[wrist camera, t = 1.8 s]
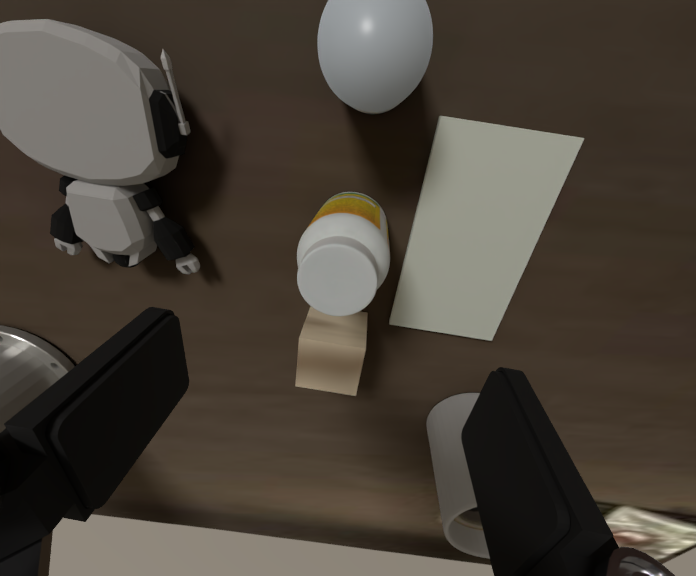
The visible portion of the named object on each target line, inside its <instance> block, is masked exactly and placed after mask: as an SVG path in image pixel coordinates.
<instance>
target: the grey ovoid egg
mask: <svg viewBox="0 0 696 576" xmlns="http://www.w3.org/2000/svg"><path fill="white" fill-rule="evenodd" d="M432 44H433V27H432V20H431V15H430V11H429V8H428V5H427V3H426V1H425V0H328V2H327V4H326V6H325V9H324V11H323V14H322V17H321V21H320V25H319V31H318V56H319V61H320V66H321V69H322V72H323V75H324V77H325V79H326V81H327V83H328V85H329V86H330V88H331V89H332V91H333V92H334V93H335V94H336V95H337V96H338V97H339V98H340V99H341V100H342V101H343V102H345V103H346V104H348V105H349V106H351V107H352V108H354V109H356V110H358V111H360V112H362V113H366V114H381V113H384V112H387V111H389V110H391V109H393V108H394V107H396V106H397V105H398V104H400V103H401V102H402V101H403V100H405V99H406V98H407V97H408V96H409V95H410V94H411V93H412V92H413V91H414V89H415V88H416V87H417V85H418V84H419V82H420V81H421V79H422V77H423V75H424V73H425V71H426V69H427V66H428V63H429V60H430V56H431V51H432Z"/></svg>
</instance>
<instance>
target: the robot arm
mask: <svg viewBox="0 0 696 576" xmlns="http://www.w3.org/2000/svg"><path fill="white" fill-rule="evenodd" d="M188 385H189V377H188V371H187V365H186V359H185V352H184V346H183V340H182V334H181V328H180V322H179V318H178V317H177V316H175V315H174V313H173V311H171V310H167V309H161V308H155V307H149V308H148V309H146V310H145V311H143V312H142V313H141V314H140V315H138V316H137V317H136V318H135V319H134V320H132V321H131V322H130V323H129V324H127V325H126V326H125V327H124V328H122V329H121V330H120V331H119V332H117V333H116V334H115V335H114V336H112V337H111V338H110V339H109V340H107V341H106V342H105V343H104V344H102V345H101V346H100V347H99V348H97V349H96V350H95V351H94V352H92V353H91V354H90V355H89V356H88V357H86V358H85V359H84V360H83V361H81V362H80V363H79V364H78V365H76V366H74V365H73V363H72V362H71V361H70V360H69V359H68V358H67V357H66V356H65V355H64V354H63V353H62V352H60V351H59V350H58V349H56V348H55V347H54V346H52V345H51V344H49V343H47V342H46V341H44V340H42V339H41V338H39V337H37V336H35V335H32V334H30V333H28V332H25V331H22V330H19V329H16V328H12V327H7V326H0V576H48V575H49V564H50V554H51V542H52V531H53V529H54V528H55V527H56V525H57V524H58V523H59V522H60V520H61V519H62V518H63V517H64V518H68V519H73V520H78V521H84V522H86V520H87V519H88V518H89V516H90V515H91V514H92V512H93V511H94V510H95V509H98V508H100V507H102V506H103V505H104V504H105V503H106V501H107V500H108V499H109V498H110V496H111V495H112V493H113V492H114V491H115V489H116V488H117V486H118V485H119V484H120V482H121V481H122V480H123V478H124V477H125V475H126V474H127V473H128V471H129V470H130V468H131V467H132V466H133V464H134V463H135V462H136V460H137V459H138V457H139V456H140V455H141V453H142V452H143V450H144V449H145V448H146V446H147V445H148V444H149V442H150V441H151V439H152V438H153V437H154V435H155V434H156V432H157V431H158V430H159V428H160V427H161V426H162V424H163V423H164V421H165V420H166V419H167V417H168V416H169V414H170V413H171V412H172V410H173V409H174V408H175V406H176V405H177V403H178V402H179V401H180V399H181V398H182V397H183V395H184V394H185V392H186V391H187V388H188ZM461 440H462V445H463V449H464V453H465V457H466V462H467V466H468V470H469V474H470V478H471V482H472V486H473V490H474V495H475V499H476V503H477V507H478V511H479V515H480V519H481V524H482V528H483V532H484V536H485V540H486V544H487V548H488V552H489V557H490V561H491V565H492V569H493V573H494V576H675V575H674V574H673V573H671V572H670V571H669V570H668V569H667V568H666V567H665V566H663V565H662V564H661V563H660V562H658V561H657V560H655V559H654V558H652V557H651V556H649V555H647V554H646V553H644V552H641V551H639V550H636V549H634V548H629V547H620V548H619V547H618V545H617V543H616V541H615V539H614V538H613V534H612V532H611V530H610V528H609V527H608V525H607V523H606V521H605V519H604V517H603V516H602V514H601V512H600V510H599V508H598V507H597V505H596V503H595V501H594V499H593V498H592V496H591V494H590V492H589V490H588V488H587V487H586V485H585V483H584V481H583V479H582V478H581V476H580V474H579V472H578V470H577V469H576V467H575V465H574V463H573V461H572V459H571V458H570V456H569V454H568V452H567V450H566V449H565V447H564V445H563V443H562V441H561V439H560V438H559V436H558V434H557V432H556V430H555V429H554V427H553V425H552V423H551V421H550V420H549V418H548V416H547V414H546V412H545V410H544V409H543V407H542V405H541V403H540V401H539V400H538V398H537V396H536V394H535V392H534V391H533V389H532V387H531V385H530V383H529V381H528V380H527V378H526V376H525V374H524V373H523V372H522V371H520V370H514V369H508V368H503V367H500V368H498V369H497V370H496V371H492V372H491V373H490V374H489V376H488V378H487V380H486V382H485V384H484V386H483V388H482V390H481V393H480V395H479V397H478V399H477V401H476V403H475V405H474V407H473V409H472V411H471V413H470V415H469V417H468V419H467V421H466V423H465V425H464V427H463V429H462V433H461Z"/></svg>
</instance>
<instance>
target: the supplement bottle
mask: <svg viewBox="0 0 696 576" xmlns="http://www.w3.org/2000/svg"><path fill="white" fill-rule="evenodd" d="M297 264H298V273H297V283H298V287H299V290H300V293H301V295H302V296H303V298H304V299H305V301H306V302H307V303H308V304H309V305H310V306H311V307H313V308H314V309H316V310H317V311H319V312H322V313H324V314H327V315H331V316H347V315H352V314H355V313H357V312H359V311H361V310H362V309H364V308H365V307H366V306H367V305H368V304H369V303H370V302H371V301H372V299H373V298H374V296H375V293H376V290H377V289H378V288H379V287H380V286H381V284H382V283H383V282H384V280H385V278H386V276H387V273H388V270H389V266H390V248H389V237H388V225H387V219H386V216H385V214H384V211H383V210H382V208H381V207H380V206H379V204H378V203H377V202H376V201H375V200H373V199H372V198H370V197H368V196H366V195H364V194H361V193H357V192H344V193H340V194H337V195H335V196H333V197H332V198H330V199H329V200H328V201H327V202H325V204H324V205H323V206H322V207H321V209H320V210H319V212H318V213H317V214H316V216H315V217H314V219H313V220H312V222H311V223H310V225H309V226H308V228H307V229H306V230H305V232H304V233H303V235H302V237H301V239H300V242H299V245H298V249H297Z"/></svg>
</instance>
